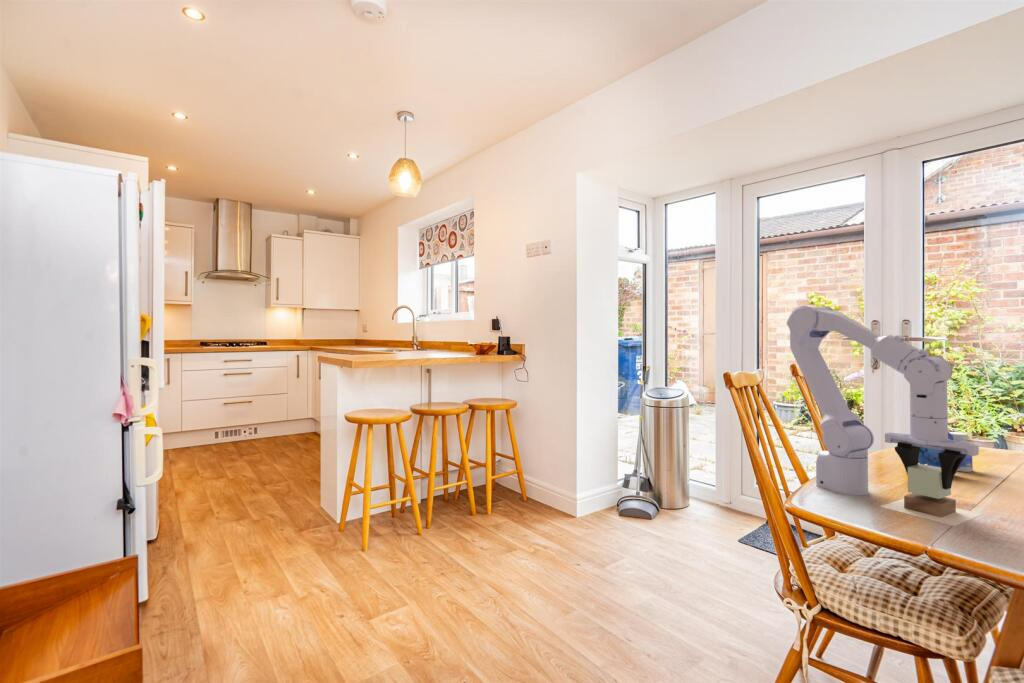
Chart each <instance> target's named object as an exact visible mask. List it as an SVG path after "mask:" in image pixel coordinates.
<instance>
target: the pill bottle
mask: <svg viewBox="0 0 1024 683" xmlns="http://www.w3.org/2000/svg"><path fill="white" fill-rule="evenodd" d="M948 432H949V433H950V434H952V436H953V438H954V440H955V441H960V442H965V443H970V444H972V443H971V442H970V441H968V440H969V434H968V433H965V432H962V431H961V432H960V431H948ZM965 459H966V461H967V464H966V466H964V467H958V471H957V472H963V473H971V472H973V468H974V467H973V464H974V463H973V456H970V455H967V454H966V457H965Z"/></svg>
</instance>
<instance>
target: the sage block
mask: <svg viewBox="0 0 1024 683" xmlns="http://www.w3.org/2000/svg"><path fill="white" fill-rule="evenodd" d="M941 474H942V473H941V468H940V467H934V466H929V465H927V464H924V465H923V464H919V463H918V465H914V466H910V467H908V475H907V493H910V494H912V493H915V494H919V495H924V496H928V497H933V498H937V499H940V498H943V497H948V496H951V495H952V487H951V488H949V489H943V486H942V477H941Z"/></svg>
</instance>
